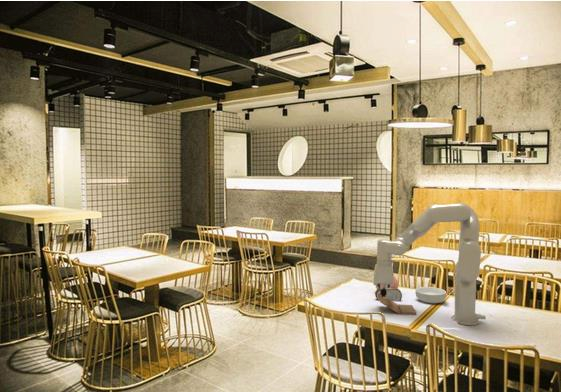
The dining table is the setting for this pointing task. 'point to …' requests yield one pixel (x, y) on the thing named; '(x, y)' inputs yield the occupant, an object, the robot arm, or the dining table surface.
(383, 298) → the panel
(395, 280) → the vase
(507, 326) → the dining table surface
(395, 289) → the tin
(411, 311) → the floor board
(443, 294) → the cereal bowl
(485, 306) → the dining table surface
